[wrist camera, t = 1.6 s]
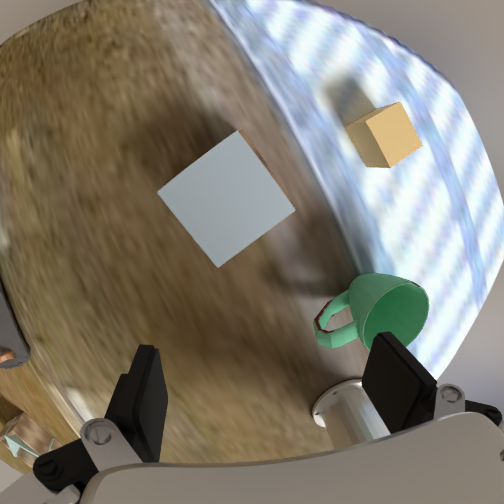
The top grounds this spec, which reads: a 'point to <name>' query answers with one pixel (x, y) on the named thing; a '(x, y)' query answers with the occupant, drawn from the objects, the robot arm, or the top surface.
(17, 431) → the coaster caddy
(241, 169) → the slate block
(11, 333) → the serving board
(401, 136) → the ochre cube
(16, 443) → the right angle wall
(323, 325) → the mug
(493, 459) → the robot arm
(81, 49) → the top surface
